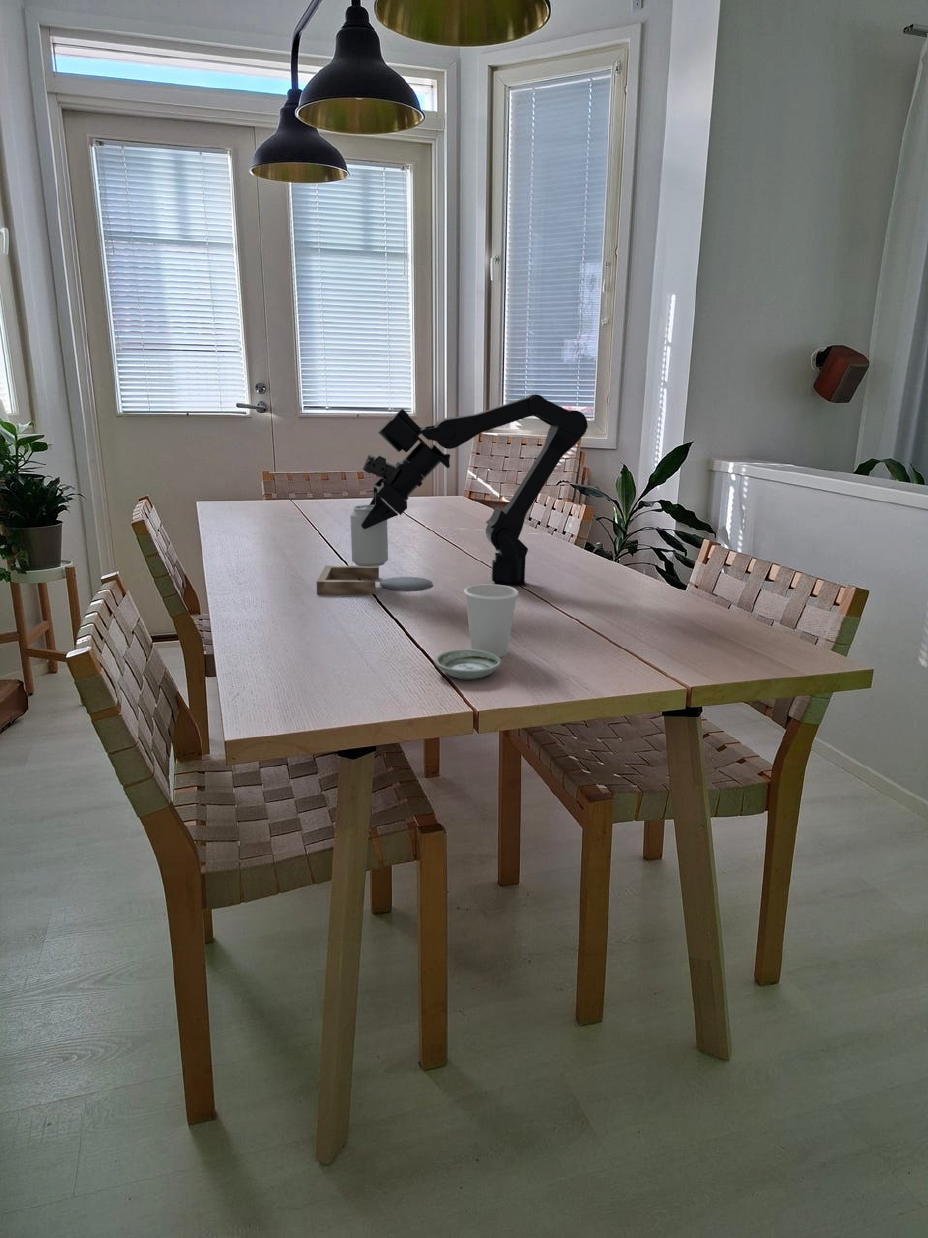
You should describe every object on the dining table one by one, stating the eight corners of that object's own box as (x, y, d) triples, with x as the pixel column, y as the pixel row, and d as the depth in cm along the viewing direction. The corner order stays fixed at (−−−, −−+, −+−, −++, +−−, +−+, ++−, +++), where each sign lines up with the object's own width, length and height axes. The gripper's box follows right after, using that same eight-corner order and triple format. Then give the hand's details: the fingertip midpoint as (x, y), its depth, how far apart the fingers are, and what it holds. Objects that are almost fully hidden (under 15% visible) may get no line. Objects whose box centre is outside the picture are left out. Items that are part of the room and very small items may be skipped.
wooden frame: (378, 577, 175) (378, 566, 175) (375, 594, 161) (374, 582, 160) (325, 576, 175) (325, 565, 174) (317, 593, 160) (316, 581, 160)
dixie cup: (484, 640, 133) (486, 581, 130) (526, 651, 128) (529, 590, 125) (452, 652, 126) (453, 590, 124) (494, 664, 121) (496, 599, 119)
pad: (431, 578, 175) (431, 576, 175) (432, 591, 164) (432, 589, 164) (381, 578, 174) (381, 576, 174) (378, 590, 164) (378, 588, 164)
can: (386, 567, 164) (384, 508, 160) (349, 567, 164) (347, 508, 160) (390, 560, 171) (388, 503, 167) (354, 559, 171) (352, 503, 168)
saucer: (421, 677, 116) (421, 661, 115) (457, 659, 124) (457, 644, 123) (478, 691, 111) (478, 674, 110) (512, 672, 119) (513, 656, 118)
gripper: (383, 437, 170) (333, 491, 171) (387, 443, 152) (331, 503, 154) (421, 474, 173) (372, 527, 175) (430, 484, 155) (374, 543, 157)
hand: (362, 524), depth 165 cm, fingers closed on can, 7 cm apart
